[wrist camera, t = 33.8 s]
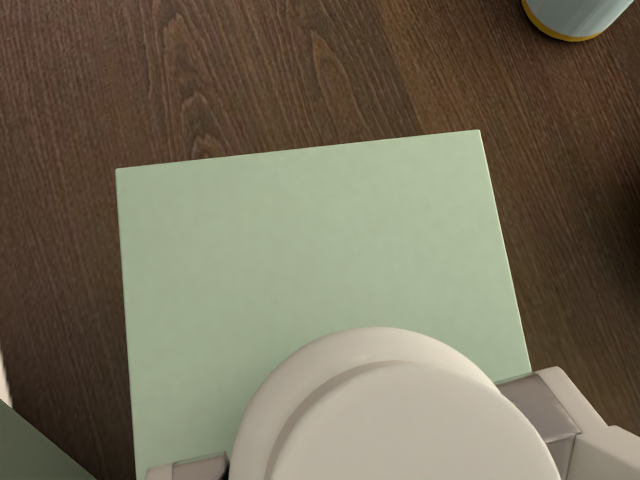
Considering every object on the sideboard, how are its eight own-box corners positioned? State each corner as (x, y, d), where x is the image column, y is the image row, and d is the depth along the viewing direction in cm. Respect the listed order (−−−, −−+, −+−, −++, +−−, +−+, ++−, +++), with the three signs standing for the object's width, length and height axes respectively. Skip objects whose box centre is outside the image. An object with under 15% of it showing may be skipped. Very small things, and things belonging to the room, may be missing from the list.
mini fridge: (227, 584, 32) (161, 849, 14) (196, 267, 35) (114, 167, 18) (436, 546, 33) (614, 748, 15) (384, 243, 37) (480, 128, 19)
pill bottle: (420, 552, 16) (619, 811, 7) (231, 520, 16) (160, 741, 6) (442, 359, 17) (637, 346, 8) (268, 328, 17) (252, 276, 8)
